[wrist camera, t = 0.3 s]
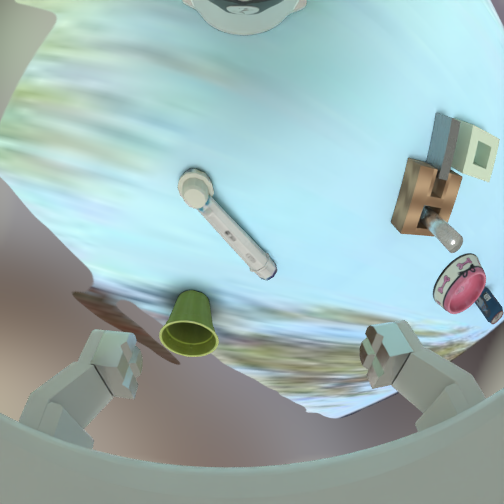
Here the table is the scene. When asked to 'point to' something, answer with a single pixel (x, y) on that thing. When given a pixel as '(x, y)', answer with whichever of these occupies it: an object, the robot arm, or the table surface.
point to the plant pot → (190, 326)
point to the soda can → (489, 306)
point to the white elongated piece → (224, 222)
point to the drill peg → (441, 229)
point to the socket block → (423, 197)
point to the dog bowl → (460, 284)
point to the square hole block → (475, 151)
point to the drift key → (443, 144)
